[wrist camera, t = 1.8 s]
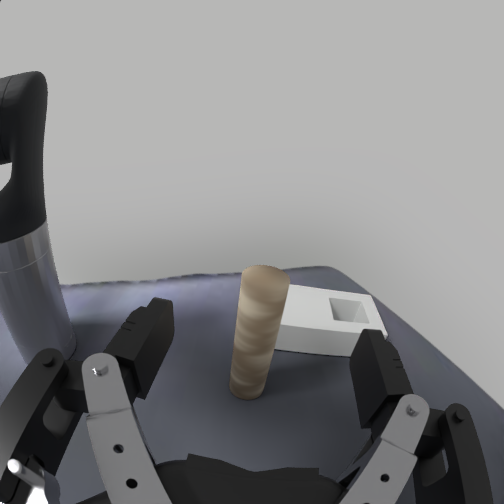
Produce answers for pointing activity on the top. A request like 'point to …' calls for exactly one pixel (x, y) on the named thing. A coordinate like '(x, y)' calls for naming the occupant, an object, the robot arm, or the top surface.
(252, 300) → the birch peg
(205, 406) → the top surface
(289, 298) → the hole block
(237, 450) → the top surface
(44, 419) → the robot arm
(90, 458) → the top surface
